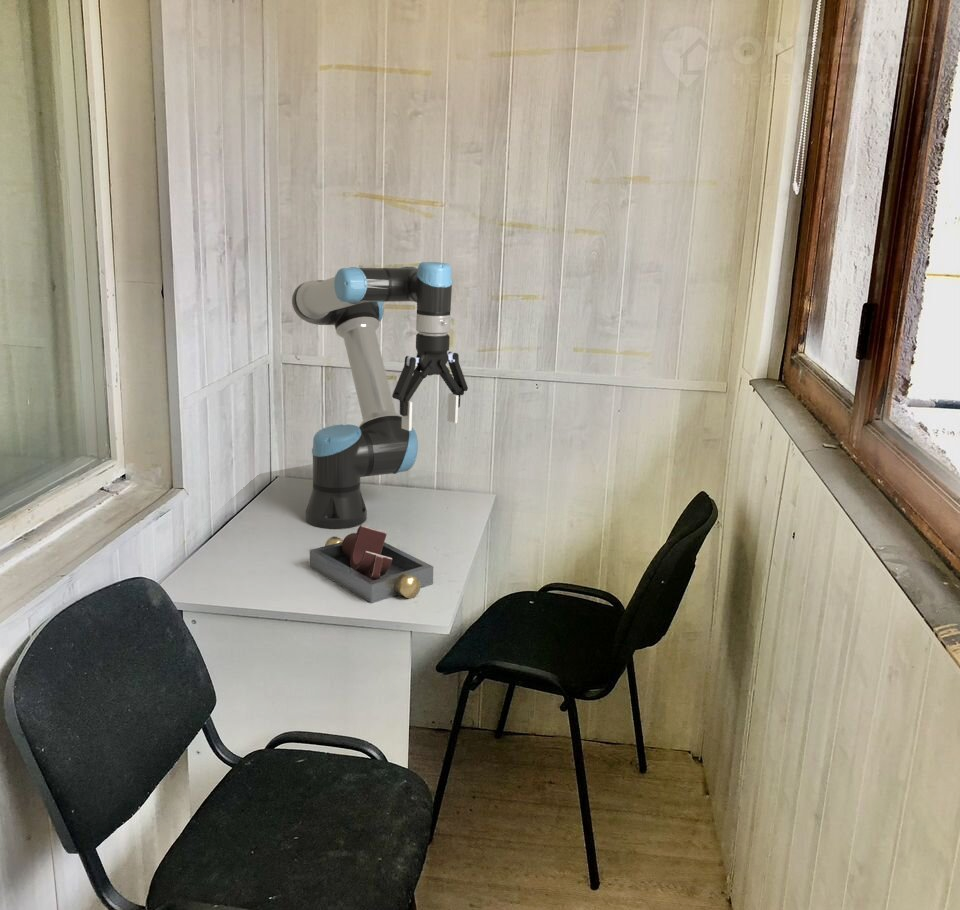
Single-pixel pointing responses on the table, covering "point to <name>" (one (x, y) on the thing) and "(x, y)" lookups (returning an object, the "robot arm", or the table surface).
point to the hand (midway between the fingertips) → (429, 425)
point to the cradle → (399, 578)
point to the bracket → (367, 552)
